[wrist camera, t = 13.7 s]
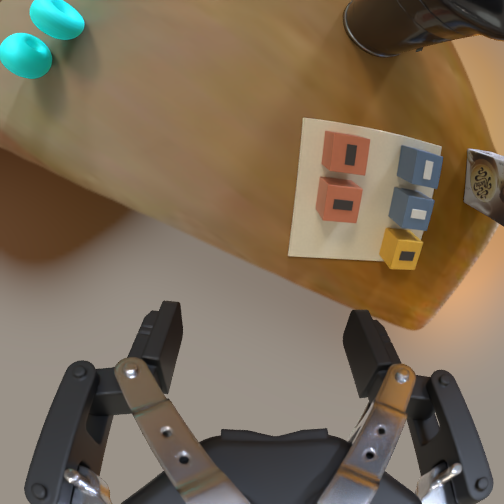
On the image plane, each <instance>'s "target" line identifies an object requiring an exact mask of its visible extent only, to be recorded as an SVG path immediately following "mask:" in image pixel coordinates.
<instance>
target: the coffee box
mask: <svg viewBox="0 0 504 504" xmlns="http://www.w3.org/2000/svg"><path fill="white" fill-rule="evenodd" d="M464 203H466V204H468V205H470V206H471V207H473V208H475V209H476V210H478V211H480V212H481V213H483V214H485V215H486V216H488V217H490V218H491V219H493V220H494V221H496V222H498V223H499V224H501V225H502V226H504V156H501V155H498V154H495V153H492V152H489V151H483V150H475V149H468V151H467V171H466V184H465V195H464Z"/></svg>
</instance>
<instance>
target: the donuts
mask: <svg viewBox="0 0 504 504" xmlns="http://www.w3.org/2000/svg"><path fill="white" fill-rule="evenodd" d="M30 17H31V20H32V21H33V23H34V24H35V25H36V26H37V27H38V28H39V29H40V30H41V31H42V32H44V33H45V34H47V35H49V36H51V37H54V38H56V39H61V40H70V39H73V38H76V37H77V36H79V35H80V34H81V33H82V31H83V30H84V26H85V23H84V20H83V18H82V17H81V15H80V14H79V13H78V12H77V11H76V10H75V9H74V8H73V7H72V6H70V5H69V4H68V3H66V2H65V1H63V0H35V1H34V2H33V3H32V5H31V7H30ZM0 60H1V62H2V63H3V65H4V66H5V67H6V68H7V69H8V70H10V71H11V72H12V73H14V74H16V75H18V76H20V77H24V78H29V79H35V78H39V77H42V76H44V75H45V74H46V73H47V72H48V71H49V69H50V68H51V65H52V55H51V52H50V50H49V48H48V47H47V45H46V44H45V43H44V42H42V41H41V40H40V39H38V38H37V37H35V36H33V35H30V34H27V33H16V34H13V35H11V36H9V37H7V38H6V39H5V40H4V41H3V42H2V44H1V46H0Z"/></svg>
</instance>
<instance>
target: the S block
mask: <svg viewBox="0 0 504 504" xmlns="http://www.w3.org/2000/svg"><path fill="white" fill-rule="evenodd" d="M422 245H423V242H422V241H421V240H420V239H419V238H418V237H417V236H416V235H414V234H413V233H412V232H411V231H410V230H404V229H395V228H386V229H385V233H384V237H383V241H382V244H381V248H380V252H379V255H380V256H381V258H382V259H383V260H384V262H385V263H386V264H387V266H388V267H389V268H390V269H403V270H415V267H416V264H417V261H418V258H419V255H420V252H421V249H422Z"/></svg>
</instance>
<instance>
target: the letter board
mask: <svg viewBox="0 0 504 504" xmlns="http://www.w3.org/2000/svg"><path fill="white" fill-rule="evenodd" d="M325 131H332V132H338V133H344V134H350V135H356V136H360V137H364V138H368V139H370V146H369V154H368V161H367V167H366V174H365V176H363V175H356V174H349V173H341V172H333V171H329V170H328V169H327V168H326V167H324V166H323V165H322V164H321V162H322V154H323V145H324V136H325ZM401 145H404V146H408V147H412V148H416V149H420V150H424V151H427V152H430V153H433V154H436V155H439V156H440V154H441V148H442V147H441V146H438V145H434V144H431V143H427V142H424V141H420V140H417V139H413V138H409V137H406V136H402V135H398V134H393V133H389V132H385V131H380V130H376V129H371V128H366V127H361V126H356V125H350V124H345V123H339V122H332V121H326V120H319V119H311V118H303V122H302V134H301V144H300V154H299V164H298V174H297V183H296V192H295V201H294V209H293V218H292V226H291V234H290V242H289V250H288V256H295V257H313V258H332V259H351V260H370V261H384V260H383V259H382V258H381V256H380V255H379V252H380V248H381V244H382V241H383V237H384V233H385V229H386V228H395V229H404V230H410V231H411V232H412V233H413V234H414V235H416V236H417V237H418V238H419V239H420V240H421V238H422V234H423V230H414V229H405V228H401V227H400V226H399V225H398V224H396V223H395V222H394V221H393V220H392V219H391V218H390V217H389V216H388V215H389V210H390V205H391V201H392V196H393V191H394V187H399V188H405V189H410V190H416V191H419V192H421V193H423V194H424V195H426V196H428V197H429V198H431V199H432V195H433V191H434V188H430V187H425V186H420V185H415V184H411V183H409V182H407V181H406V180H404V179H402V178H400V177H398V176H397V170H398V164H399V158H400V151H401ZM320 177H329V178H338V179H345V180H352V181H353V182H354V183H356V184H357V185H358V186H360V187H361V188H362V189H363V192H362V198H361V203H360V208H359V213H358V218H357V223H346V222H334V221H323V220H322V218H321V217H320V215H319V214H318V212H317V210H316V209H315V208H316V201H317V193H318V186H319V178H320Z"/></svg>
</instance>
